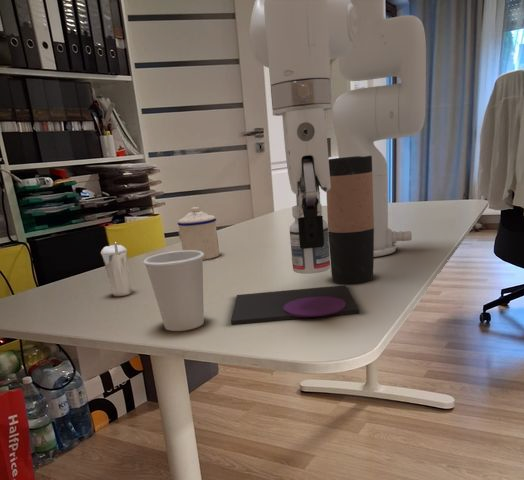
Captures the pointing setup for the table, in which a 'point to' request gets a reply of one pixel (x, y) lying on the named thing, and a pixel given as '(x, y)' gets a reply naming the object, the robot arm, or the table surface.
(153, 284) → the dixie cup
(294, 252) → the pill bottle
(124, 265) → the milkshake
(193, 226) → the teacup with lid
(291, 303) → the placemat
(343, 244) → the travel mug
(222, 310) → the table surface
